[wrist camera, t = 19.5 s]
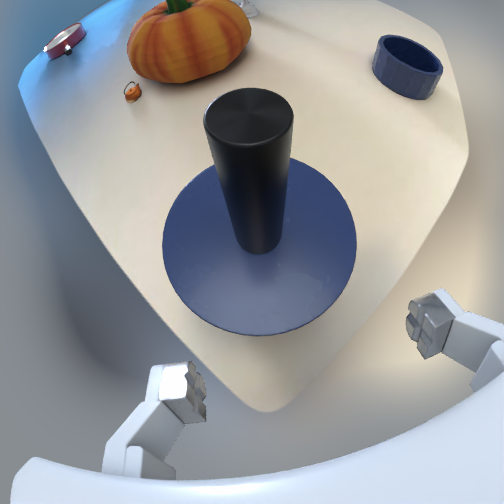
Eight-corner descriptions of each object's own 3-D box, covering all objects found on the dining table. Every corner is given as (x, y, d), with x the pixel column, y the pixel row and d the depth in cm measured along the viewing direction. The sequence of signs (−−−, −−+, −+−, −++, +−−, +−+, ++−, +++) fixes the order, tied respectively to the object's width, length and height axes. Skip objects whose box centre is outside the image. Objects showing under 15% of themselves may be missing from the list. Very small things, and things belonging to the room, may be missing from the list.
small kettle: (124, 96, 35) (118, 86, 33) (141, 87, 36) (135, 76, 33) (128, 105, 35) (120, 94, 32) (145, 95, 35) (138, 84, 32)
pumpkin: (271, 70, 34) (264, -18, 19) (144, 113, 34) (98, 36, 19) (233, 23, 39) (222, -39, 24) (137, 55, 39) (109, -2, 24)
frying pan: (111, 44, 42) (101, 25, 36) (65, 79, 41) (52, 62, 35) (81, 30, 50) (73, 17, 44) (47, 56, 49) (39, 43, 43)
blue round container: (434, 79, 32) (444, 57, 26) (427, 110, 30) (440, 85, 25) (380, 52, 34) (386, 28, 29) (364, 77, 32) (371, 50, 27)
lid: (376, 212, 17) (450, 101, 7) (293, 373, 14) (338, 423, 5) (232, 141, 19) (211, 19, 10) (135, 270, 17) (24, 193, 7)
